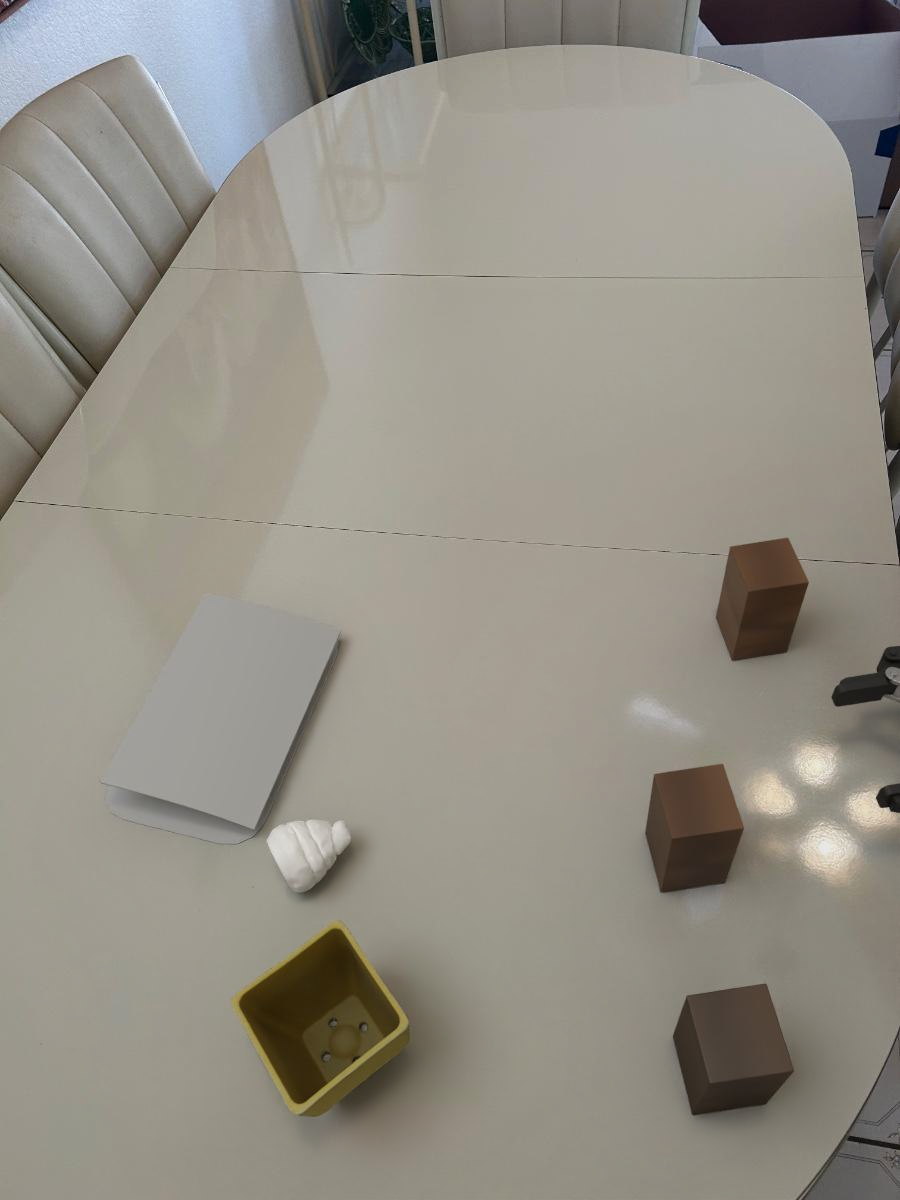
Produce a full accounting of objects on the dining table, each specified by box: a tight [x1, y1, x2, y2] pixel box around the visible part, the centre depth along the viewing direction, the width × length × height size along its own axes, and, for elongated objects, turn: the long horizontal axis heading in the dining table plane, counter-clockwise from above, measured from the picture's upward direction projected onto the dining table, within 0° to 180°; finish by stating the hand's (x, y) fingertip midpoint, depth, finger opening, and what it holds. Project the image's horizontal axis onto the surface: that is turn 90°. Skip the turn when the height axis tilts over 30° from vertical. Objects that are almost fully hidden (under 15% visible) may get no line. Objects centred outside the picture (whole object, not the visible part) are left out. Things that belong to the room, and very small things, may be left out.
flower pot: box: [230, 919, 411, 1118], centre depth 63 cm, size 9×9×9 cm
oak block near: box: [672, 983, 795, 1116], centre depth 60 cm, size 5×5×10 cm
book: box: [99, 592, 342, 845], centre depth 84 cm, size 15×23×4 cm, turn 164°
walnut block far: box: [715, 537, 810, 661], centre depth 81 cm, size 5×5×10 cm
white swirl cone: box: [266, 818, 352, 894], centre depth 74 cm, size 6×6×5 cm
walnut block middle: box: [644, 763, 745, 894], centre depth 69 cm, size 5×5×10 cm
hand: (856, 745), depth 68 cm, fingers open, 8 cm apart
